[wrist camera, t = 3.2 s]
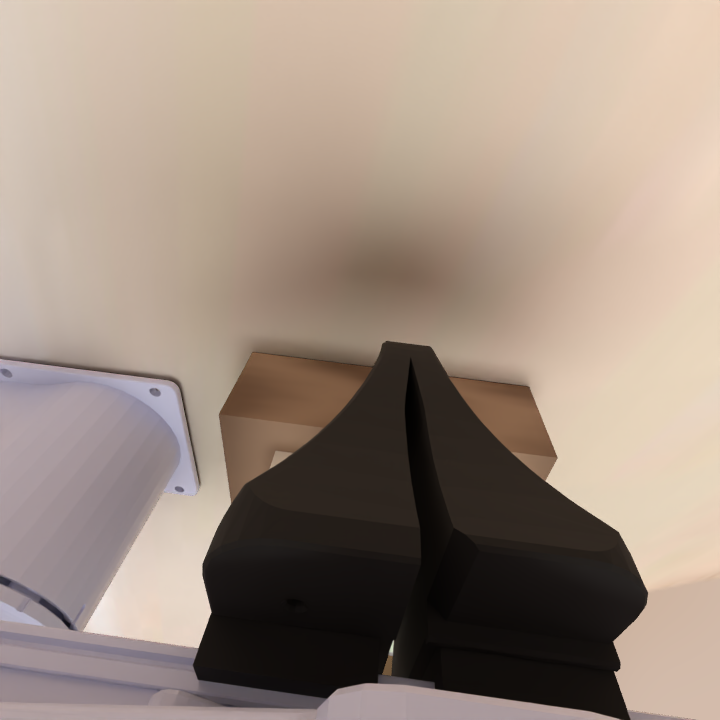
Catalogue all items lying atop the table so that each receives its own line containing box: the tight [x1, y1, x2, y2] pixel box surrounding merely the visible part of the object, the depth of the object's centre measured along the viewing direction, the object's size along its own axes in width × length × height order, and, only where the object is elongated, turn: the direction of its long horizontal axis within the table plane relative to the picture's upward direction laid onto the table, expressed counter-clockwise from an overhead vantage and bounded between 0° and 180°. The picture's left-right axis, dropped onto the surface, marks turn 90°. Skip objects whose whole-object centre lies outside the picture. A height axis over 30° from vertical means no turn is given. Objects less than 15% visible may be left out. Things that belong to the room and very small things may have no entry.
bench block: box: [219, 352, 557, 504], centre depth 19 cm, size 12×12×4 cm
